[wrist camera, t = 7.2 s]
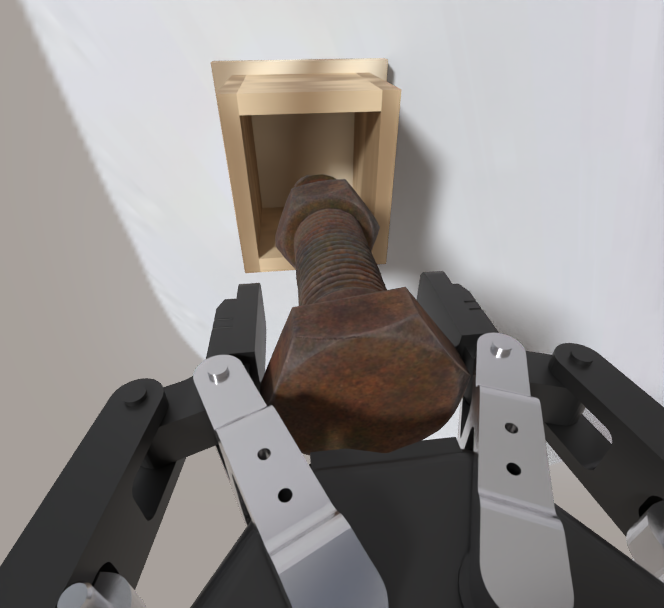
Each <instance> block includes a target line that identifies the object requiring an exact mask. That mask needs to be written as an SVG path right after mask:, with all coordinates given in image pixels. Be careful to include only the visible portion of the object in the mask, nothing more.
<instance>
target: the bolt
mask: <svg viewBox="0 0 664 608" xmlns="http://www.w3.org/2000/svg"><path fill="white" fill-rule="evenodd" d="M379 229H380V226H379V224H378V222H377V220H376V218H375V217H374V215H373V214H372V212H371V211H370V210H369V208H368V207H367V206H366V204H365V203H364V202H363V200H362V199H361V198H360V196H359V195H358V194H357V193H356V191H355V190H354V189H353V187H352V186H351V185H350V184H349V183H348V182H347V180H346V179H336V178H334V177H332V176H328V175H324V174H319V175H306V176H305V177H301V178H300V179H299V180H298V181H297V182H296V184H295V185H294V188H292V189H291V191H290V194H289V196H288V198H287V201H286V204H285V206H284V209H283V212H282V215H281V218H280V221H279V225H278V228H277V232H276V235H275V246H276V248H277V249H278V250H279V251H280V253H281V254H282V255H283V256H284V258H285V259H286V260H287V261H288V262H289V263H290V264H291V265H292V266H293V267H294V268H295V269H296V279H297V286H298V298H299V306H298V307H292V309H291V311H290V314H289V316H288V319H287V321H286V323H285V326H284V328H283V330H282V333H281V335H280V337H279V340H278V342H277V345H276V347H275V350H274V352H273V354H272V357H271V359H270V362H269V364H268V367H267V369H266V371H265V374H264V376H263V379H262V381H261V388H260V395H261V397H262V398H263V400H264V402H265V404H266V405H267V406H268V405H270V404H271V405H272V406H273V407H274V408H275V410H276V411H277V413H278V414H279V416H280V418H281V419H282V421H283V423H284V425H285V426H286V428H287V430H288V431H289V433H290V435H291V436H292V438H293V440H294V441H295V443H296V445H297V446H298V448H299V450H300V451H301V453H303V454H306V455H310V452H318V451H328V450H337V449H355V450H362V451H370V452H378V453H389V452H392V451H395V450H397V449H400V448H403V447H405V446H408V445H411V444H413V443H416V442H419V441H421V440H423V439H425V438H427V437H428V436H430V435H432V434H433V433H435V432H437V431H438V430H440V429H441V428H442V427H443V426H444V425H445V424H446V423H447V422H448V421H449V419H450V418H451V417H452V415H453V414H454V413H455V411H456V409H457V407H458V405H459V403H460V401H461V400H462V398H463V395H464V393H465V390H466V388H467V385H468V383H469V380H470V377H471V375H470V373H469V371H468V369H467V367H466V365H465V364H464V362H463V360H462V358H461V356H460V354H459V353H458V352H457V350H456V348H455V346H454V345H453V344H452V343H451V341H450V340H449V339H448V338H447V337H446V335H445V334H444V333H443V332H442V331H441V329H440V328H439V327H438V326H437V324H436V323H435V322H434V321H433V320H432V318H431V317H430V316H429V315H428V314H427V312H426V311H425V310H424V309H423V308H422V306H421V305H420V304H419V303H418V301H417V300H416V299H415V298H414V297H413V295H412V294H411V293H410V292H409V291H408V289H407V288H406V287H402V288H396V289H391V290H387V289H386V287H385V284H384V282H383V279H382V276H381V273H380V271H379V268H378V266H377V263H376V261H375V259H374V257H373V255H372V252H371V251H372V248H373V246H374V243H375V241H376V238H377V235H378V232H379Z"/></svg>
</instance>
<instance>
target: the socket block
mask: <svg viewBox="0 0 664 608" xmlns="http://www.w3.org/2000/svg"><path fill="white" fill-rule="evenodd" d="M387 67H388V59H385V58H367V59H307V60H248V61H212V62H211V68H212V74H213V80H214V86H215V92H216V98H217V105H218V111H219V117H220V123H221V129H222V135H223V141H224V148H225V154H226V160H227V166H228V172H229V178H230V184H231V191H232V197H233V203H234V209H235V215H236V221H237V227H238V232H239V238H240V244H241V250H242V256H243V263H244V269H245V273H254V272H269V271H285V270H296V269H295V268H294V267H293V266H292V265H291V264H290V263H289V262H288V261H287V260H286V259H285V258H284V256H283V255H282V254H281V253H280V251H279V250H278V249H277V248H276V246H275V235H276V232H277V228H278V225H279V221H280V218H281V215H282V212H283V209H284V206H285V204H286V201H287V198H288V196H289V194H290V191H291V189H292V188H294V185H295V184H296V182H297V181H298V180H299V179H300V178H301V177H305V176H306V175H319V174H324V175H328V176H332V177H334V178H336V179H346V180H347V182H348V183H349V184H350V185H351V186H352V187H353V189H354V190H355V191H356V193H357V194H358V195H359V196H360V198H361V199H362V200H363V202H364V203H365V204H366V206H367V207H368V208H369V210H370V211H371V212H372V214H373V215H374V217H375V218H376V220H377V222H378V224H379V226H380V229H379V232H378V235H377V238H376V241H375V243H374V246H373V248H372V251H371V252H372V255H373V257H374V259H375V261H376V263H377V264H386V258H387V247H388V236H389V224H390V213H391V201H392V190H393V179H394V167H395V156H396V144H397V133H398V121H399V110H400V99H401V89H399V88H397V87H396V86H394V85H392V84H390V83H388V82H387Z"/></svg>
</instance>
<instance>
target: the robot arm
mask: <svg viewBox="0 0 664 608" xmlns="http://www.w3.org/2000/svg"><path fill="white" fill-rule="evenodd" d="M417 301H418V303H419V304H420V305H421V306H422V308H423V309H424V310H425V311H426V312H427V314H428V315H429V316H430V317H431V318H432V320H433V321H434V322H435V323H436V324H437V326H438V327H439V328H440V329H441V331H442V332H443V333H444V334H445V335H446V337H447V338H448V339H449V340H450V341H451V343H452V344H453V345H454V346H455V348H456V350H457V352H458V353H459V354H460V356H461V358H462V360H463V362H464V364H465V365H466V367H467V369H468V371H469V373H470V375H471V377H470V380H469V383H468V385H467V388H466V390H465V393H464V395H463V398H462V400H461V401H460V411H459V425H458V438H457V439H456V437H451V438H441V439H432V440H422V441H419V442H416V443H413V444H411V445H408V446H405V447H403V448H400V449H397V450H395V451H392V452H389V453H378V452H370V451H362V450H355V449H337V450H328V451H318V452H310V459H311V464H309V465H308V463H307V461H306V460H305V458H304V456H303V455H302V453H301V451H300V450H299V448H298V446H297V445H296V443H295V441H294V440H293V438H292V436H291V435H290V433H289V431H288V430H287V428H286V426H285V425H284V423H283V421H282V419H281V418H280V416H279V414H278V413H277V411H276V410H275V408H274V407H273V406H272V405H271V404H270V405H268V406H267V405H266V404H265V402H264V400H263V398H262V397H261V395H260V388H261V381H262V379H263V376H264V374H265V355H266V321H265V313H264V306H263V298H262V291H261V285H260V283H252V284H239V285H238V292H237V299H225V300H224V301H223V302H222V303H221V304H220V305H219V307H218V308H217V309H216V314H215V318H214V323H213V330H212V333H211V337H210V342H209V347H208V352H207V356H206V360H204V361H203V362H201V363H200V364H199V365H198V366H197V368H196V369H195V371H194V374H193V376H192V377H190V378H189V379H186V380H184V381H181V382H178V383H176V384H172V385H169V386H166V387H162V385H161V383H159V382H158V381H156V380H154V379H148V378H146V379H138V380H134V381H131V382H129V383H127V384H125V385H123V386H121V387H120V388H119V389H117V390H116V391H115V392H114V393H113V394H112V396H111V397H110V398H109V400H108V402H107V403H106V405H105V406H104V408H103V409H102V411H101V413H100V414H99V416H98V417H97V418H96V420H95V422H94V423H93V425H92V426H91V428H90V429H89V431H88V432H87V434H86V435H85V437H84V439H83V440H82V442H81V443H80V445H79V446H78V448H77V449H76V451H75V452H74V454H73V455H72V457H71V459H70V460H69V462H68V463H67V465H66V466H65V468H64V469H63V471H62V472H61V474H60V475H59V477H58V478H57V480H56V482H55V483H54V485H53V486H52V488H51V489H50V491H49V492H48V494H47V496H46V497H45V498H44V500H43V502H42V503H41V505H40V506H39V508H38V509H37V511H36V512H35V514H34V516H33V517H32V518H31V520H30V522H29V523H28V525H27V526H26V528H25V529H24V531H23V532H22V534H21V535H20V537H19V538H18V540H17V542H16V543H15V545H14V546H13V548H12V549H11V551H10V552H9V554H8V555H7V557H6V558H5V560H4V562H3V563H2V565H1V566H0V608H146V605H145V603H144V601H143V600H142V599H141V597H140V596H139V595H138V594H137V593H136V591H135V588H136V586H137V583H138V581H139V578H140V575H141V573H142V570H143V568H144V565H145V563H146V560H147V557H148V555H149V552H150V550H151V547H152V544H153V542H154V539H155V537H156V534H157V532H158V529H159V526H160V524H161V521H162V519H163V516H164V513H165V510H166V508H167V506H168V503H169V500H170V498H171V495H172V493H173V490H174V487H175V485H176V482H177V480H178V477H179V474H180V472H181V469H182V467H183V464H184V462H185V459H186V457H188V456H190V455H193V454H195V453H197V452H200V451H202V450H205V449H208V448H210V447H212V446H215V448H216V450H217V453H218V455H219V458H220V460H221V463H222V465H223V468H224V470H225V473H226V475H227V478H228V480H229V482H230V485H231V487H232V490H233V493H234V495H235V498H236V501H237V504H238V507H239V509H240V512H241V515H242V517H243V520H244V522H245V525H246V529H245V530H244V532H243V533H242V535H241V536H240V537H239V539H238V540H237V542H236V543H235V545H234V546H233V547H232V549H231V550H230V552H229V553H228V554H227V556H226V557H225V559H224V560H223V562H222V563H221V564H220V566H219V567H218V569H217V570H216V572H215V573H214V575H213V576H212V577H211V579H210V580H209V582H208V583H207V584H206V586H205V587H204V589H203V590H202V592H201V593H200V594H199V596H198V597H197V599H196V600H195V602H194V603H193V605H192V606H191V607H190V608H664V407H663V406H661V405H660V404H659V403H658V402H657V401H655V400H654V399H653V398H652V397H651V396H649V395H648V394H647V393H646V392H645V391H643V390H642V389H641V388H640V387H638V386H637V385H636V384H635V383H634V382H632V381H631V380H630V379H629V378H628V377H626V376H625V375H624V374H623V373H622V372H620V371H619V370H618V369H617V368H615V367H614V366H613V365H612V364H611V363H609V362H608V361H607V360H606V359H605V358H603V357H602V356H601V355H600V354H598V353H597V352H596V351H594V350H592V349H590V348H588V347H586V346H583V345H579V344H574V343H565V344H561V345H559V346H557V347H556V348H555V350H554V352H553V355H549V354H542V353H535V352H529V351H525V348H524V347H523V345H522V344H521V343H520V342H519V341H517V340H516V339H514V338H513V337H511V336H508V335H505V334H502V333H499V332H498V331H497V330H496V328H495V327H494V325H493V324H492V323H491V321H490V320H489V318H488V317H487V315H486V314H485V313H484V311H483V310H481V307H480V306H479V304H478V303H477V302H476V300H475V299H474V297H473V296H472V294H471V293H470V292H469V291H468V290H467V289H465V288H464V287H462V286H461V285H459V284H452V283H451V281H450V280H449V278H448V277H447V275H446V274H445V272H443V271H439V272H424V273H422V274H421V276H420V282H419V288H418V295H417ZM585 408H587V409H588V410H589V411H590V412H591V413H592V414H593V415H594V416H595V417H596V418H597V419H598V420H599V421H600V422H601V423H602V424H603V425H604V426H605V427H606V428H607V429H608V430H609V432H610V434H611V436H612V444H611V443H610V442H609V441H608V440H607V439H606V438H605V437H604V436H603V435H602V434H601V433H600V432H599V431H598V430H597V429H596V428H595V427H594V426H593V425H592V424H591V423H590V422H589V421H588V420H587V419H586V418H585V417H584V416H583V415H582V413H583V411H584V410H585ZM545 440H546V441H547V442H548V444H549V445H550V446H551V447H552V448H553V450H554V451H555V452H556V453H557V454H558V456H559V457H560V458H561V459H562V460H563V462H564V463H565V464H566V465H567V466H568V467H569V469H570V470H571V471H572V472H573V474H574V475H575V476H576V477H577V478H578V480H579V481H580V482H581V483H582V484H583V486H584V487H585V488H586V489H587V490H588V492H589V493H590V494H591V495H592V496H593V498H594V499H595V500H596V501H597V502H598V503H599V505H600V506H601V507H602V508H603V509H604V511H605V512H606V513H607V514H608V516H609V517H610V518H611V519H612V520H613V522H614V523H615V524H616V525H617V526H618V528H619V529H620V530H621V531H622V532H623V534H624V535H625V536H626V539H627V546H628V548H629V551H630V553H631V555H632V557H633V558H632V559H630V558H629V557H628V556H626V555H625V554H624V553H622V552H621V551H619V550H618V549H617V548H615V547H614V546H612V545H611V544H610V543H608V542H607V541H606V540H604V539H603V538H602V537H600V536H599V535H598V534H596V533H595V532H593V531H592V530H591V529H589V528H588V527H586V526H585V525H584V524H582V523H581V522H579V521H578V520H577V519H575V518H574V517H573V516H571V515H570V514H569V513H567V512H566V511H565V510H563V509H562V508H560V507H559V506H558V505H556V504H555V503H554V500H553V493H552V485H551V478H550V471H549V463H548V455H547V448H546V441H545Z"/></svg>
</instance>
